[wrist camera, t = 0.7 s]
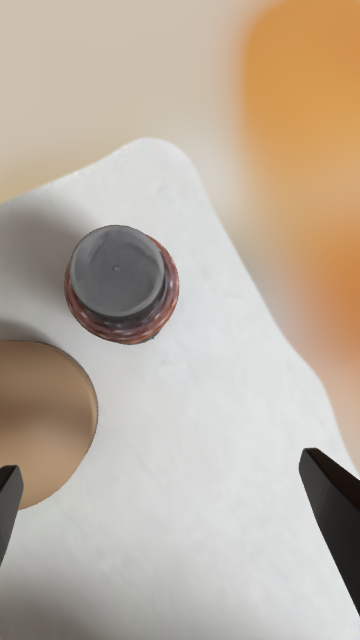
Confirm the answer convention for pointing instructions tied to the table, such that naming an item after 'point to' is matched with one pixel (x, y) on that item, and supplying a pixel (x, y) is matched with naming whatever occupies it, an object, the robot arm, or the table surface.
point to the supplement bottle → (121, 285)
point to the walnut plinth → (44, 416)
